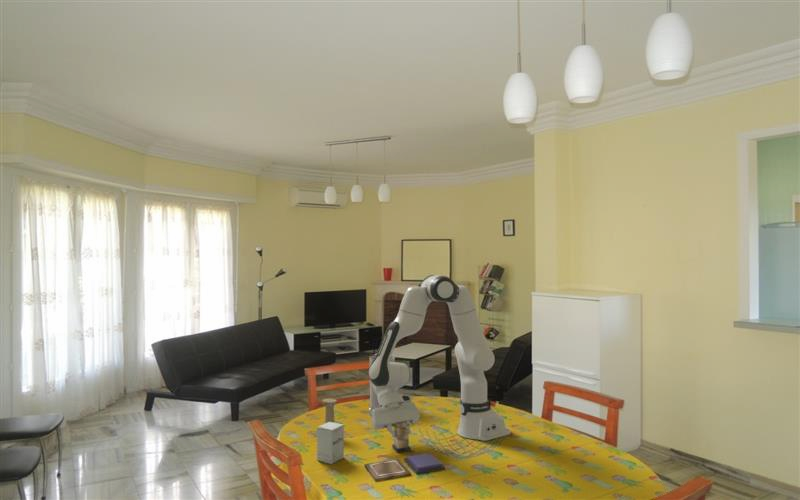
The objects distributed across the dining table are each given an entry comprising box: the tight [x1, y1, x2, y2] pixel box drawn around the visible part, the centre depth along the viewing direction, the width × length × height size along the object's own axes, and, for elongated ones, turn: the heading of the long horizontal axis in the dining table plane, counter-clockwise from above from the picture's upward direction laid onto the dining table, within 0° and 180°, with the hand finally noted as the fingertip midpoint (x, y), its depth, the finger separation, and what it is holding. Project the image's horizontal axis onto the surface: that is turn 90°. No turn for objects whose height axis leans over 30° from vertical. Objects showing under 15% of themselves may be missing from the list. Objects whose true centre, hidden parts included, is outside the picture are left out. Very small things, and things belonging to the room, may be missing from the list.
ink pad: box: [403, 452, 446, 475], centre depth 185 cm, size 11×12×2 cm
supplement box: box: [316, 422, 345, 465], centre depth 191 cm, size 7×7×13 cm
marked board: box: [364, 458, 412, 482], centre depth 181 cm, size 13×13×1 cm
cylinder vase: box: [369, 355, 396, 409], centre depth 254 cm, size 12×12×25 cm
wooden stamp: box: [391, 422, 412, 454], centre depth 200 cm, size 6×6×10 cm
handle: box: [321, 398, 338, 424], centre depth 216 cm, size 5×6×15 cm
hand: (402, 434), depth 199 cm, fingers closed on wooden stamp, 5 cm apart
